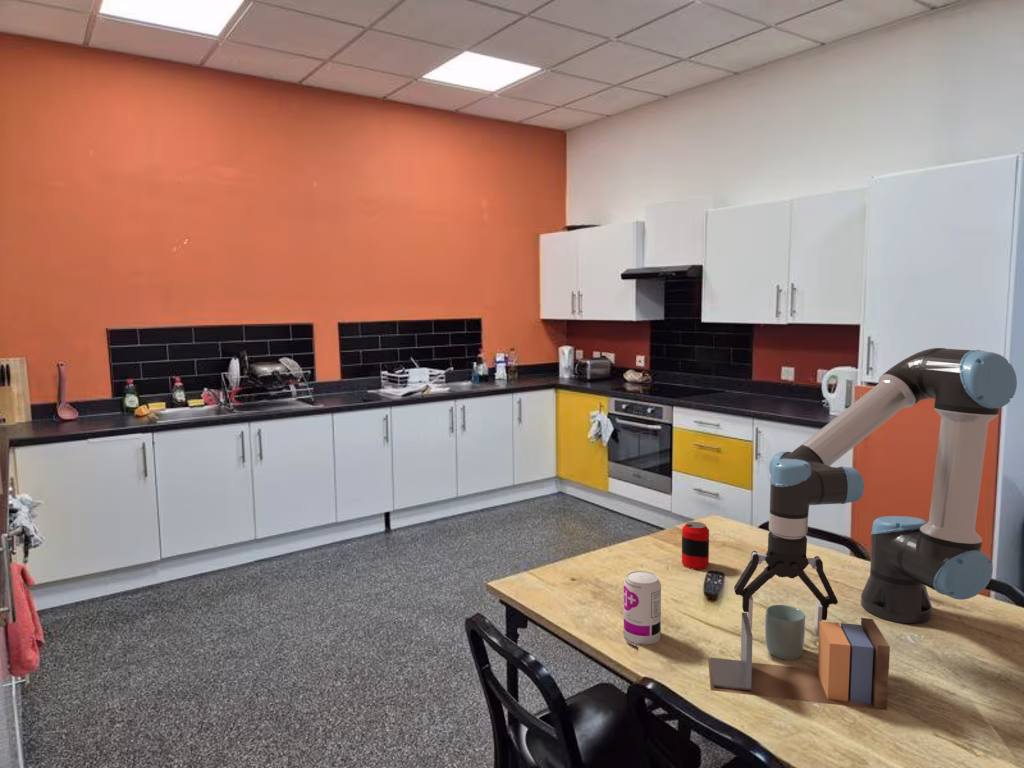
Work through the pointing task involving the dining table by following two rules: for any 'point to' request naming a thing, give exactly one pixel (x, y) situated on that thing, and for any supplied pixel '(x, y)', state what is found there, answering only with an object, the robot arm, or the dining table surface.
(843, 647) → the book terracotta
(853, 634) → the book navy
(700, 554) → the soda can
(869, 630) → the shelf
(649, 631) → the supplement can
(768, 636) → the cup
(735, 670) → the bookend
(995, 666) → the dining table surface
